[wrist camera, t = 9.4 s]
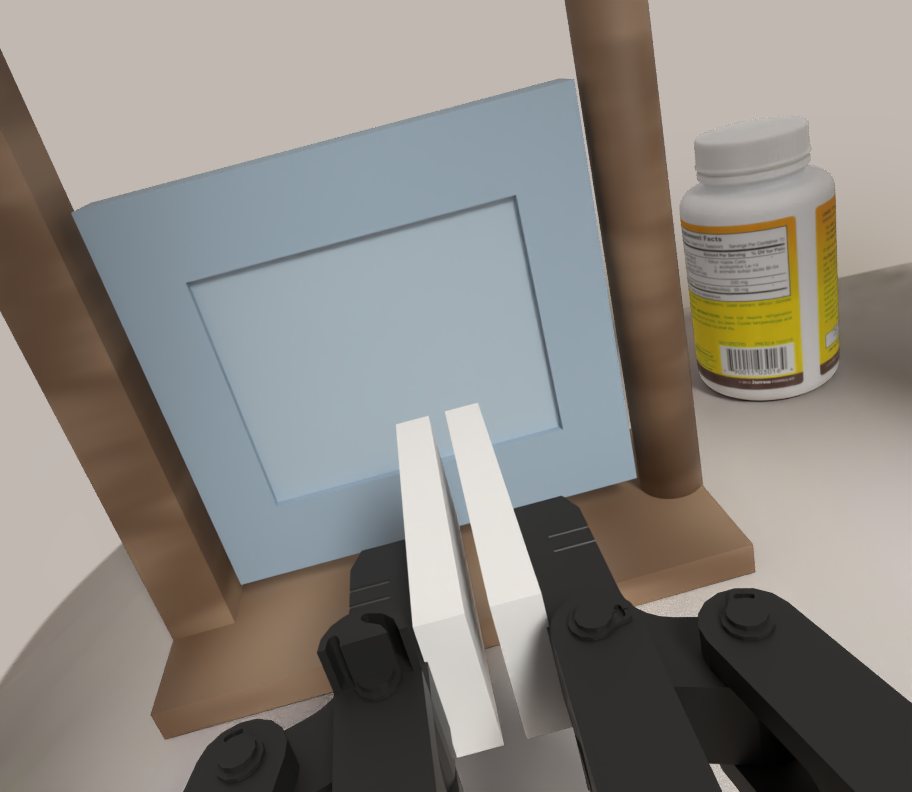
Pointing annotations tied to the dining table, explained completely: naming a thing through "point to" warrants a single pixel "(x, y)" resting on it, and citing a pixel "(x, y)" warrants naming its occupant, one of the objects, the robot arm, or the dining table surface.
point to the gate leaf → (373, 320)
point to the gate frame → (328, 584)
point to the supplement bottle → (762, 261)
